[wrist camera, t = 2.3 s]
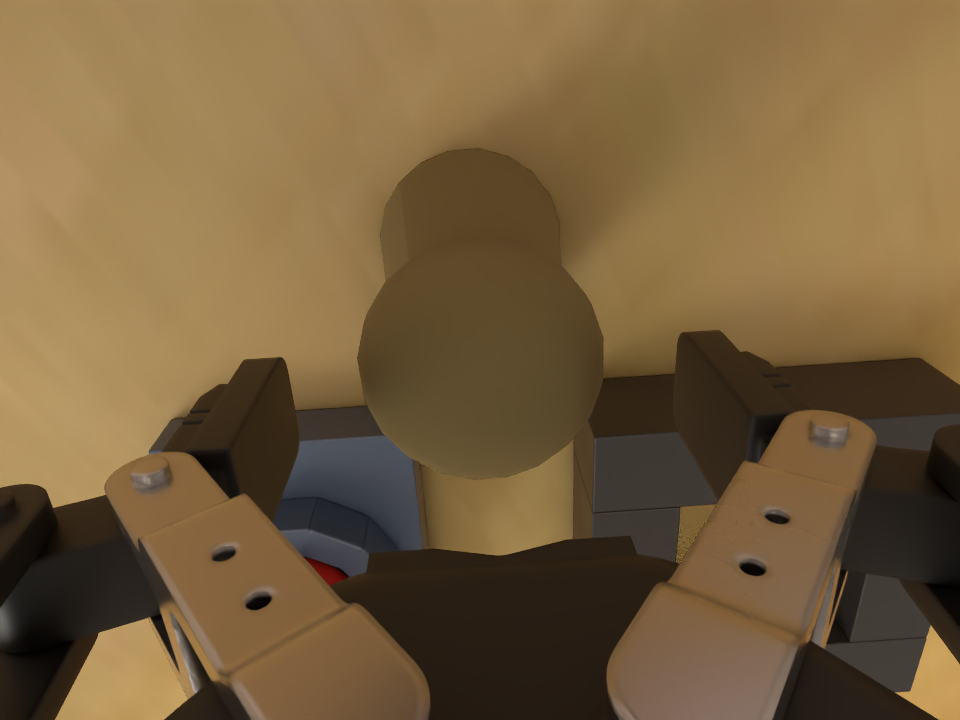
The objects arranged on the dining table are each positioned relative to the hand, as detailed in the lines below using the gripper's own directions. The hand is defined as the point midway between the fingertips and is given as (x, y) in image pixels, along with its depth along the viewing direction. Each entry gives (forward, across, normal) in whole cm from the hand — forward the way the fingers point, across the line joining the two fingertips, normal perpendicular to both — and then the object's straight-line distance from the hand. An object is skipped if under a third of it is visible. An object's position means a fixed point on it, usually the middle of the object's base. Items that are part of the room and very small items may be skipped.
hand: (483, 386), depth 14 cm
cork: (+10, 0, 0) cm, 10 cm away
